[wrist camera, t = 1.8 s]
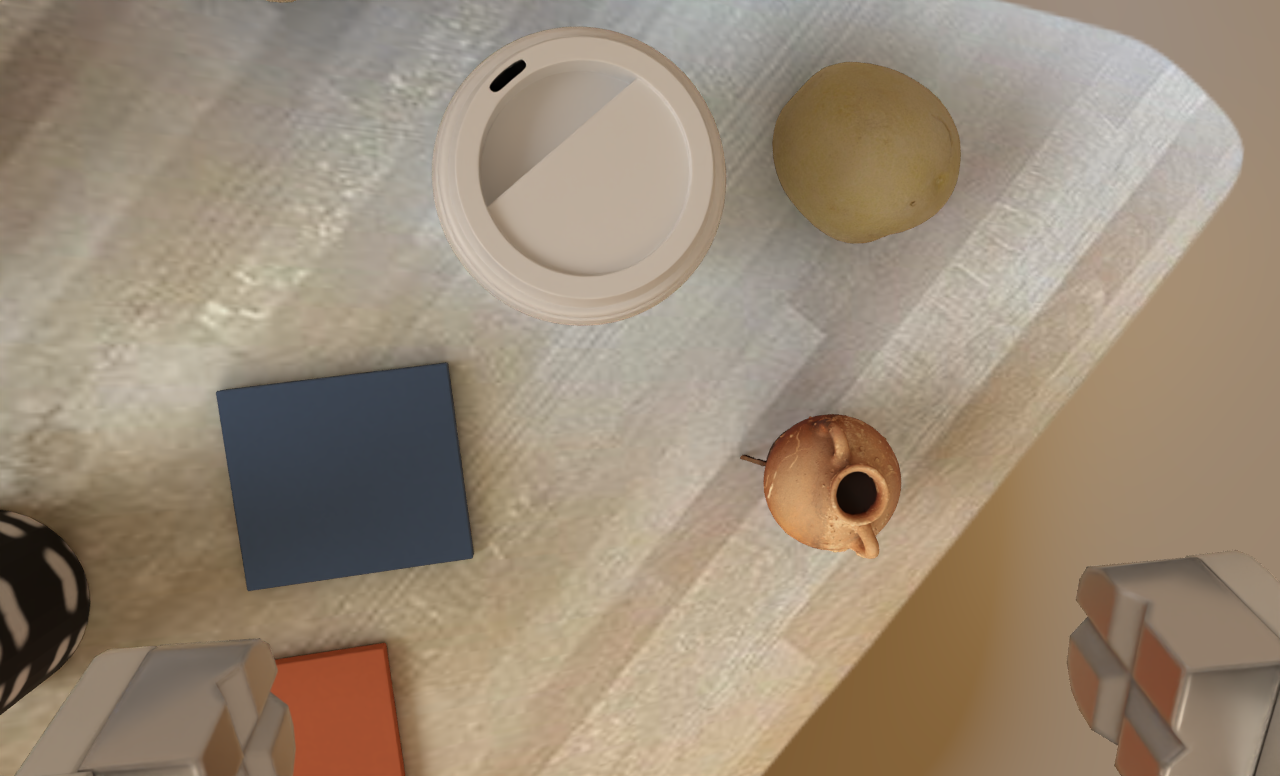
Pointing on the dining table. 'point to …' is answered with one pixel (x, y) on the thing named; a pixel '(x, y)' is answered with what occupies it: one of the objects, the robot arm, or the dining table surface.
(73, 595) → the spotted tube
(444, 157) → the coffee cup
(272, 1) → the skull
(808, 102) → the potato
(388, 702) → the terracotta mat
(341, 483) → the blue mat
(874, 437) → the pot
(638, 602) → the dining table surface
